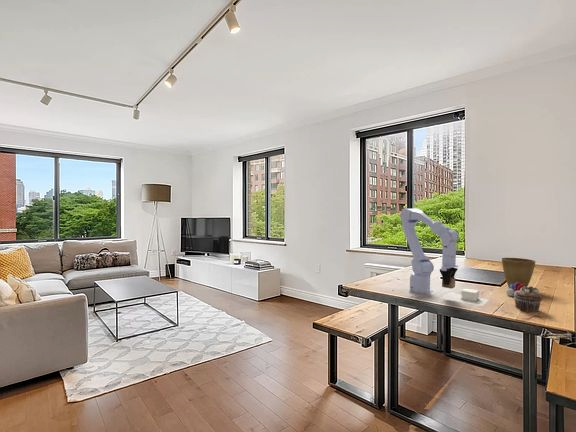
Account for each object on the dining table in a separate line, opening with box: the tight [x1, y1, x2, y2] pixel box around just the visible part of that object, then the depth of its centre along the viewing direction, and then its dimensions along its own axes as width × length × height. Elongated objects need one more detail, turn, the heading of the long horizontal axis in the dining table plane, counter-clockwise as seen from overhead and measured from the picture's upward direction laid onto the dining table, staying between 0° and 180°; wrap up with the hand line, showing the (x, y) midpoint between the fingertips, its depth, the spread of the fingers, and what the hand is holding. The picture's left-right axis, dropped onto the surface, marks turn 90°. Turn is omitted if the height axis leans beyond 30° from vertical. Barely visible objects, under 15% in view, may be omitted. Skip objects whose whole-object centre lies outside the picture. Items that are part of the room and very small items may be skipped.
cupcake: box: [513, 286, 543, 313], centre depth 143 cm, size 10×10×10 cm
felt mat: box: [439, 292, 490, 307], centre depth 157 cm, size 18×14×1 cm
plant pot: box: [501, 257, 536, 289], centre depth 178 cm, size 15×15×16 cm
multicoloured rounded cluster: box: [505, 282, 526, 298], centre depth 162 cm, size 8×10×7 cm
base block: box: [460, 288, 480, 302], centre depth 157 cm, size 6×6×4 cm
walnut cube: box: [441, 276, 456, 289], centre depth 158 cm, size 4×4×4 cm
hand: (448, 283), depth 158 cm, fingers closed on walnut cube, 4 cm apart
